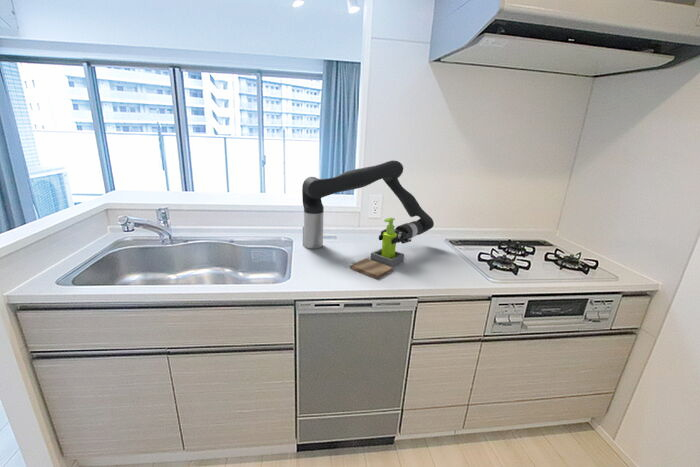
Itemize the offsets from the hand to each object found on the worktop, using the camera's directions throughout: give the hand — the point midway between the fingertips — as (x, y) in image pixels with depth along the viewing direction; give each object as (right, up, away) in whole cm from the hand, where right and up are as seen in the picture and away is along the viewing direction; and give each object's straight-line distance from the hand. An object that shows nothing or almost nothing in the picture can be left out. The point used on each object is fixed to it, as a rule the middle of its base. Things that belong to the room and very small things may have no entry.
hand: (385, 239), depth 135 cm
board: (-6, -12, -3) cm, 14 cm away
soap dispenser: (+1, -10, +5) cm, 11 cm away
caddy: (+1, -10, +5) cm, 11 cm away
